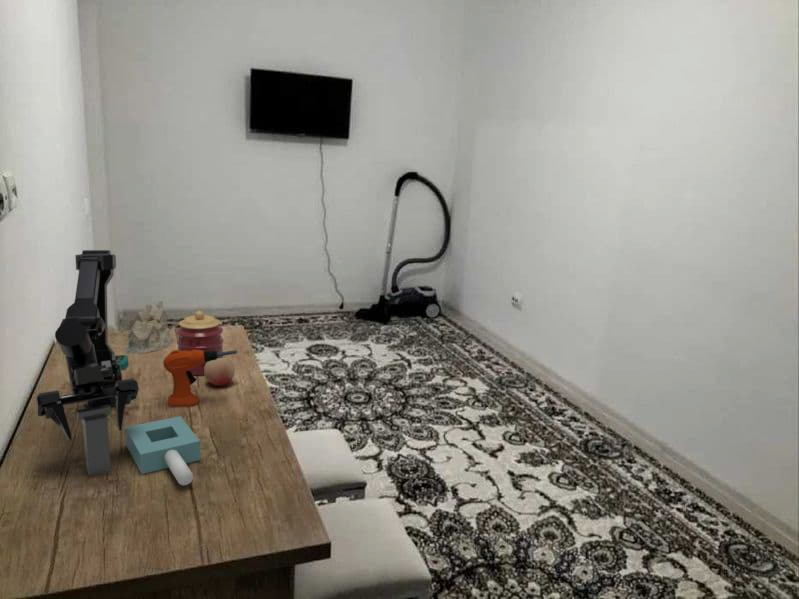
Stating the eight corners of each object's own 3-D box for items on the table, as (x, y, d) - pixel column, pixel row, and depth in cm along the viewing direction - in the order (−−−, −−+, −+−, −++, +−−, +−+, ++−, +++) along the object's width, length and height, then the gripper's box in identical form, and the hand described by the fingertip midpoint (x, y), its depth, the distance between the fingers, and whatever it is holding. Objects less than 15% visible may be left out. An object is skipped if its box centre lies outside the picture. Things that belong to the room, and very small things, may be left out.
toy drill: (243, 397, 164) (235, 344, 160) (168, 411, 160) (157, 356, 155) (243, 390, 168) (235, 338, 164) (169, 403, 164) (159, 349, 160)
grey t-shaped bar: (80, 469, 129) (75, 407, 126) (112, 461, 132) (108, 402, 129) (84, 477, 126) (78, 415, 123) (116, 470, 129) (112, 409, 126)
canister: (175, 377, 179) (173, 317, 175) (180, 361, 191) (178, 305, 187) (223, 375, 182) (221, 316, 178) (224, 360, 194) (223, 305, 190)
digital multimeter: (126, 371, 183) (125, 362, 182) (70, 373, 179) (69, 364, 178) (130, 362, 189) (129, 353, 189) (75, 365, 186) (75, 355, 185)
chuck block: (126, 445, 139) (125, 427, 138) (181, 433, 146) (180, 416, 145) (154, 497, 120) (153, 476, 119) (216, 481, 127) (215, 461, 126)
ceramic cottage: (150, 333, 215) (146, 291, 211) (181, 345, 207) (178, 302, 202) (108, 347, 203) (103, 303, 198) (139, 360, 195) (134, 315, 190)
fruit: (231, 377, 181) (230, 351, 179) (236, 387, 174) (236, 360, 172) (202, 380, 178) (201, 354, 176) (207, 391, 171) (206, 363, 169)
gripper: (32, 355, 122) (44, 430, 116) (134, 342, 132) (149, 410, 126) (32, 380, 130) (42, 451, 124) (128, 366, 140) (142, 430, 134)
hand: (95, 435), depth 127 cm, fingers open, 9 cm apart
